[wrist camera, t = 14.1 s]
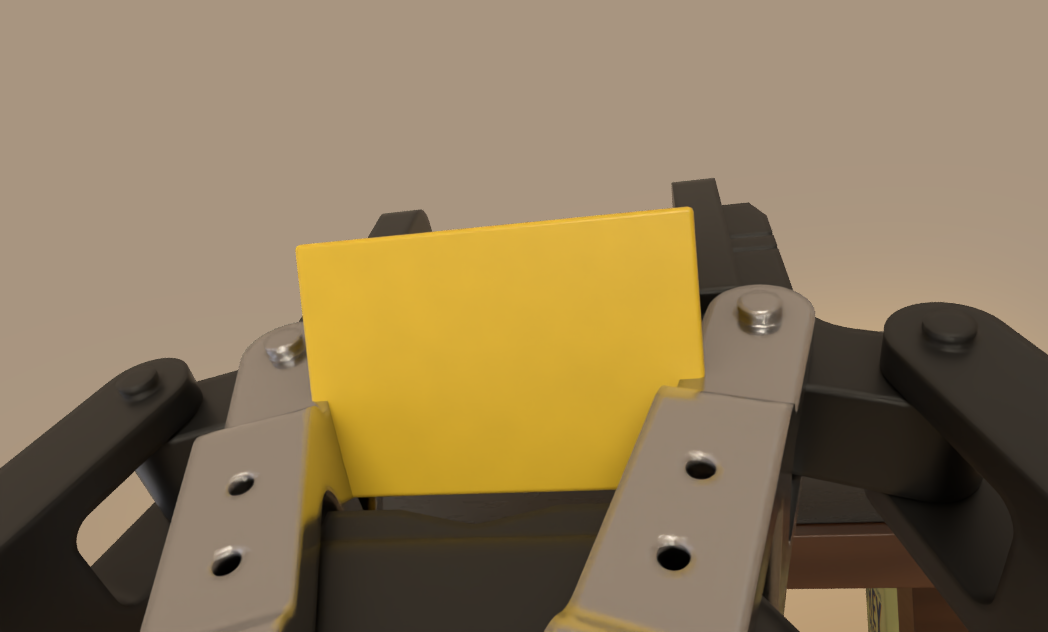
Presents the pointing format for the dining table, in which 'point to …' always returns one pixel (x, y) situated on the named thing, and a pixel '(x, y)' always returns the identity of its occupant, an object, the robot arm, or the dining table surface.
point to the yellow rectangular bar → (500, 349)
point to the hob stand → (817, 553)
